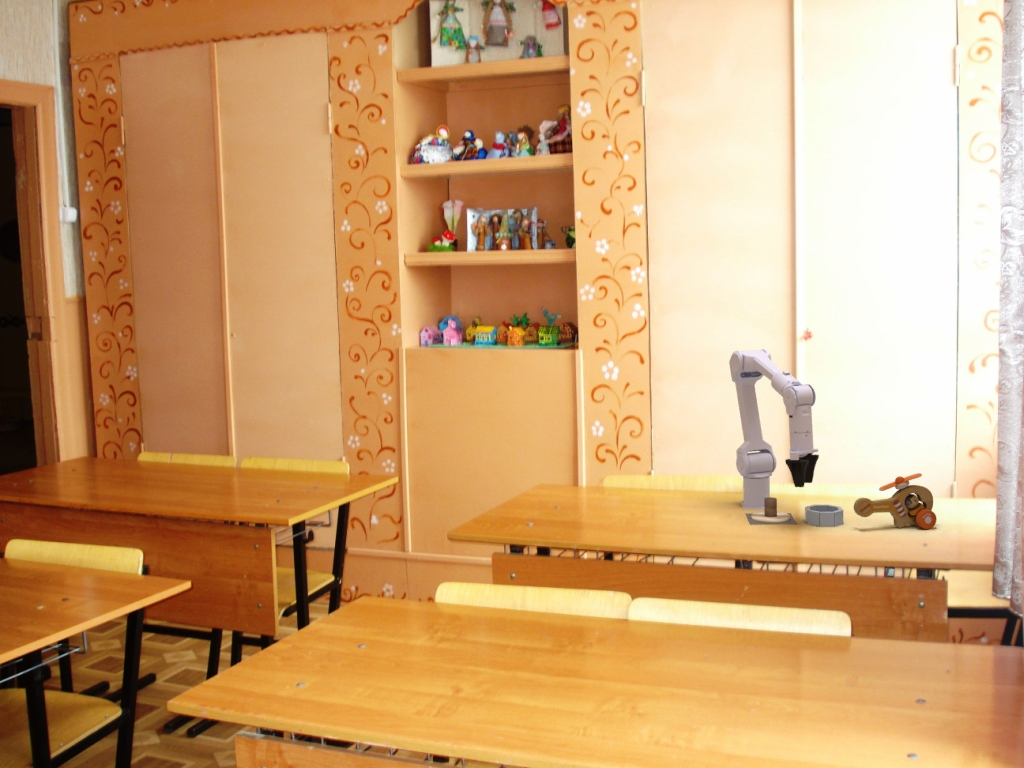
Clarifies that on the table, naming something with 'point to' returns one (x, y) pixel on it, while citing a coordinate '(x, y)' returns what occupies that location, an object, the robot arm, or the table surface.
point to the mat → (752, 522)
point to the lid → (770, 513)
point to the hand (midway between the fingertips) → (803, 484)
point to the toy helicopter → (902, 504)
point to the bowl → (824, 515)
